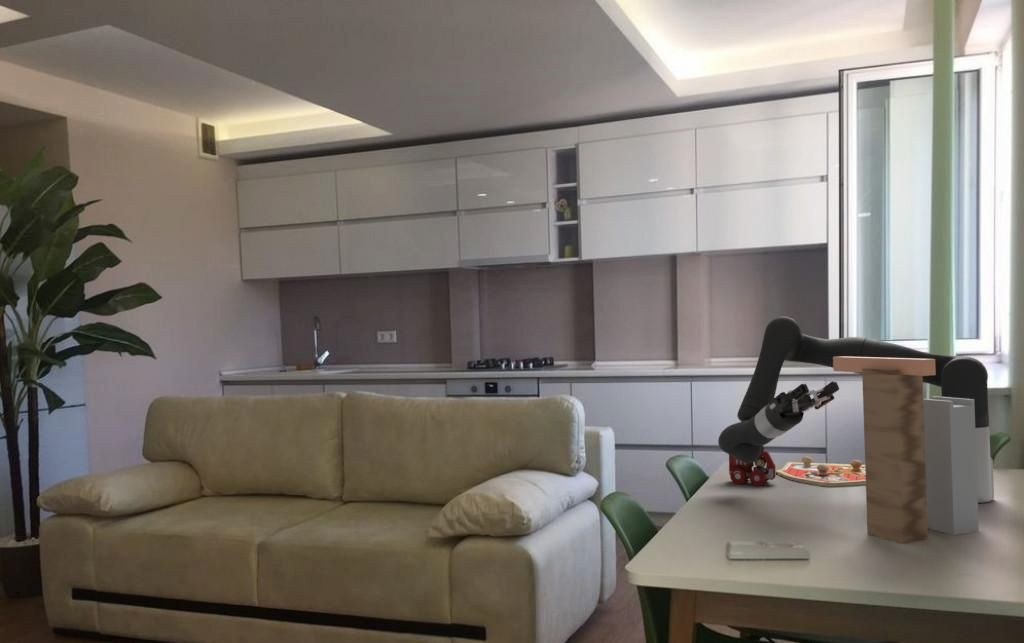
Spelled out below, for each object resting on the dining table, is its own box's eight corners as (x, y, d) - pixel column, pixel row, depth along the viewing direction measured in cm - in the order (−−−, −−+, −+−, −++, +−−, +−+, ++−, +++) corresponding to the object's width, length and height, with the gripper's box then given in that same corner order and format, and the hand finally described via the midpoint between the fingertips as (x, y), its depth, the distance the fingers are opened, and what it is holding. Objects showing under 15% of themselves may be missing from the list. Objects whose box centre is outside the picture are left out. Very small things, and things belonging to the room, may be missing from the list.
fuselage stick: (844, 370, 165) (843, 356, 165) (935, 375, 145) (935, 359, 145) (833, 371, 164) (833, 356, 164) (924, 375, 144) (923, 359, 144)
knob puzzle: (888, 471, 219) (888, 455, 219) (893, 492, 192) (892, 474, 192) (780, 466, 231) (780, 451, 231) (770, 486, 204) (769, 469, 204)
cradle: (938, 520, 162) (934, 396, 163) (978, 530, 154) (974, 399, 154) (914, 524, 160) (910, 398, 160) (953, 535, 151) (949, 401, 152)
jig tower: (893, 529, 157) (887, 366, 157) (927, 538, 149) (922, 368, 150) (867, 533, 154) (862, 368, 154) (901, 543, 147) (895, 370, 147)
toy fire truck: (771, 487, 200) (770, 447, 200) (724, 483, 207) (723, 444, 207) (778, 482, 206) (777, 443, 206) (732, 478, 213) (730, 440, 213)
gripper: (748, 404, 181) (789, 372, 168) (795, 400, 187) (839, 369, 174) (759, 434, 178) (803, 403, 165) (808, 429, 183) (853, 399, 170)
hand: (821, 386), depth 169 cm, fingers open, 8 cm apart
